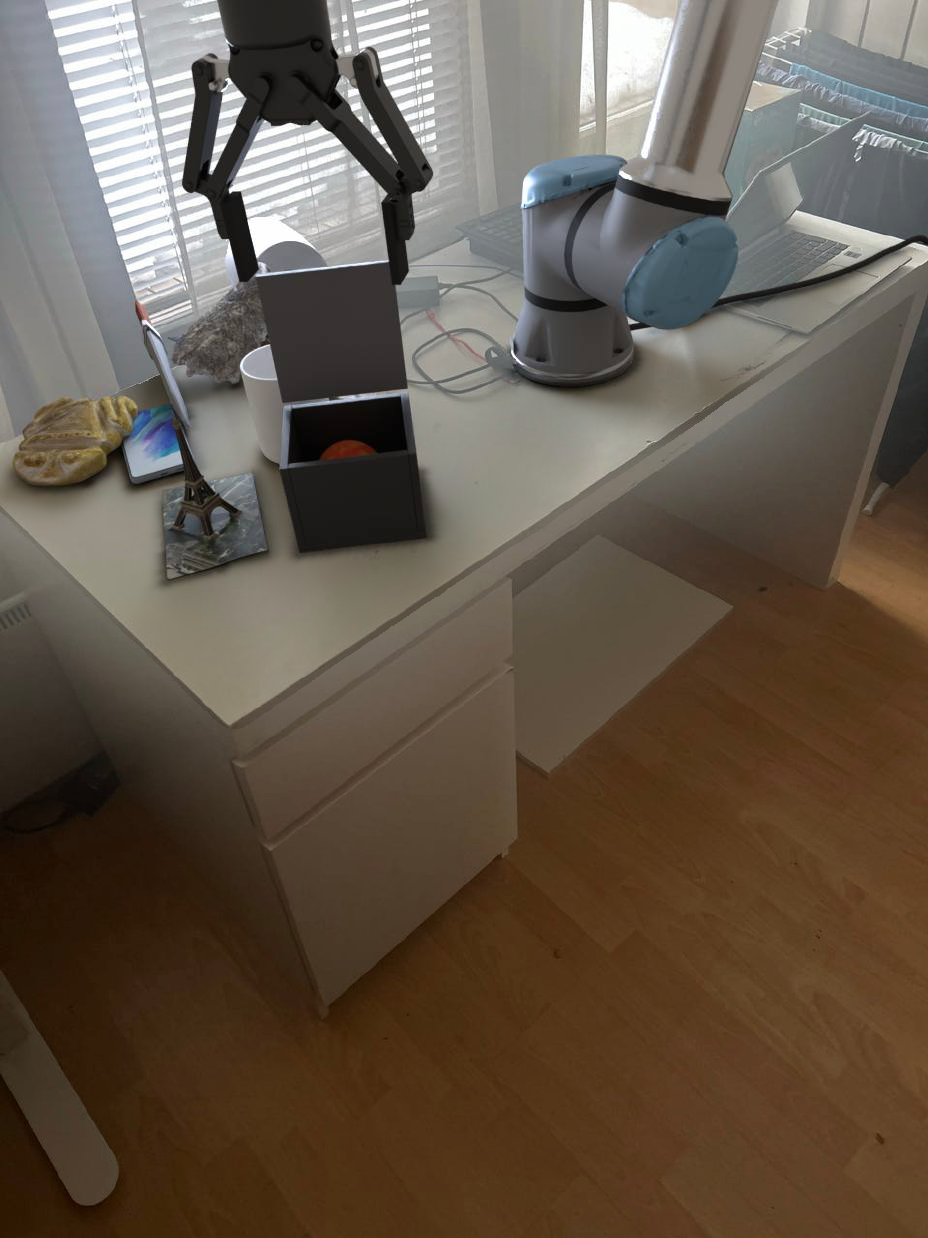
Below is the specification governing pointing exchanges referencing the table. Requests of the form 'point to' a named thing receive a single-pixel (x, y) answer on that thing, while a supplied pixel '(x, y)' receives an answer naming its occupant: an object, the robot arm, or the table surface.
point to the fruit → (347, 450)
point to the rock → (224, 334)
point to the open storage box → (351, 473)
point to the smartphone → (153, 445)
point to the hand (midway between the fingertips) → (323, 277)
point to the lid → (333, 330)
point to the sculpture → (72, 439)
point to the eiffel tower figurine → (209, 518)
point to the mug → (266, 400)
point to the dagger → (161, 362)
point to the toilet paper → (277, 249)
